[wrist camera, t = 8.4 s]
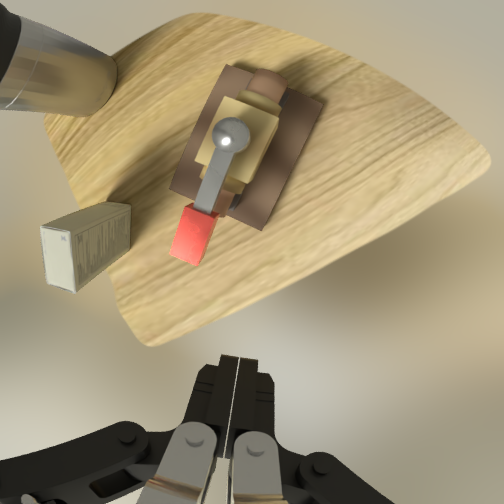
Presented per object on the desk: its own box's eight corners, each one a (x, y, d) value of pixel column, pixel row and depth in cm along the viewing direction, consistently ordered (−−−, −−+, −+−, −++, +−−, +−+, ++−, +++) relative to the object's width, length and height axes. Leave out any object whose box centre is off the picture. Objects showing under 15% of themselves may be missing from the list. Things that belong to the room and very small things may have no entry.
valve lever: (225, 116, 19) (220, 112, 17) (256, 128, 19) (254, 124, 17) (176, 245, 23) (168, 253, 21) (204, 257, 23) (198, 266, 21)
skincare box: (104, 200, 31) (38, 222, 19) (133, 204, 31) (70, 229, 19) (103, 247, 33) (44, 283, 21) (131, 253, 33) (75, 295, 21)
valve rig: (262, 227, 30) (258, 250, 23) (173, 187, 30) (141, 197, 22) (321, 107, 26) (338, 87, 18) (228, 68, 25) (213, 39, 17)
